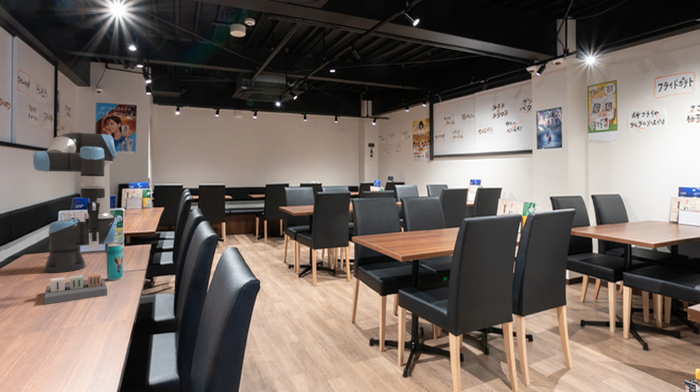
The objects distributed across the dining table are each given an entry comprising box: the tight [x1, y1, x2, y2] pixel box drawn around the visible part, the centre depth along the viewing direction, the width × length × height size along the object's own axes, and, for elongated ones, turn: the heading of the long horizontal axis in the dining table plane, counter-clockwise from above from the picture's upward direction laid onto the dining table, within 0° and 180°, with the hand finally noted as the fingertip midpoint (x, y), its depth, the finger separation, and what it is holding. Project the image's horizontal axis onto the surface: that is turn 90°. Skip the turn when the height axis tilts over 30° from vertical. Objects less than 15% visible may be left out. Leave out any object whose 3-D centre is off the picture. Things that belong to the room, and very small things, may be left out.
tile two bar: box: [69, 274, 84, 290], centre depth 138 cm, size 4×4×4 cm
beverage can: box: [106, 243, 124, 282], centre depth 158 cm, size 6×6×15 cm
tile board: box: [43, 278, 108, 305], centre depth 138 cm, size 16×18×2 cm
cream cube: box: [50, 276, 66, 292], centre depth 134 cm, size 4×4×4 cm
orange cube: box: [87, 272, 102, 287], centre depth 141 cm, size 4×4×4 cm
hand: (93, 248), depth 141 cm, fingers open, 5 cm apart
